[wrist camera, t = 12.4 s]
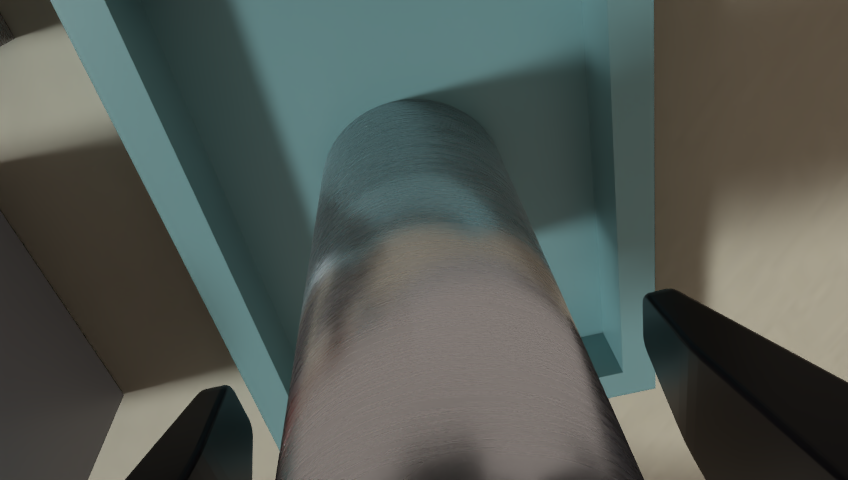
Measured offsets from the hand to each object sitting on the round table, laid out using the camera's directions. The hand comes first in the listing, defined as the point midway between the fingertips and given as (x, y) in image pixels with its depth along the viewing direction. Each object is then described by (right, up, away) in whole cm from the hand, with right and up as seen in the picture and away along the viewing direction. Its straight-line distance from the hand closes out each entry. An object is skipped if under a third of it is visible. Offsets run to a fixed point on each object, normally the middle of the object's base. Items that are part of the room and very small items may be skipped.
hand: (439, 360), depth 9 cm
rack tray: (-1, +3, +5) cm, 6 cm away
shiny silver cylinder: (0, +3, +5) cm, 5 cm away
